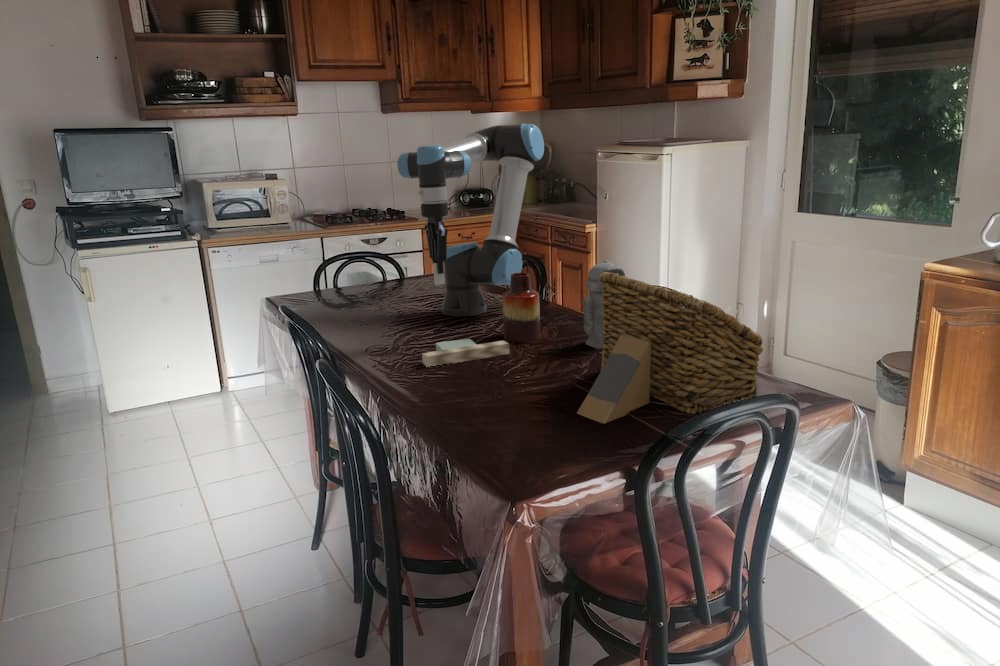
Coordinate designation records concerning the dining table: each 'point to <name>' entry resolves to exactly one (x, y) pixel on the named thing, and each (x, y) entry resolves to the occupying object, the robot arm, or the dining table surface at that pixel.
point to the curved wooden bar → (465, 353)
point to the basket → (682, 343)
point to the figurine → (596, 303)
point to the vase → (521, 310)
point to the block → (454, 344)
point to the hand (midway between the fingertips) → (439, 284)
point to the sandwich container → (620, 382)
